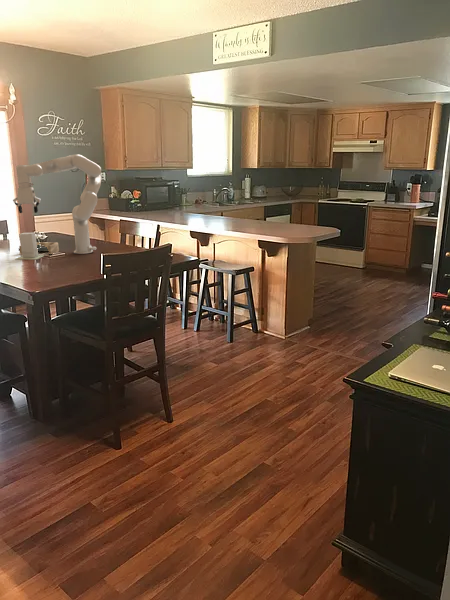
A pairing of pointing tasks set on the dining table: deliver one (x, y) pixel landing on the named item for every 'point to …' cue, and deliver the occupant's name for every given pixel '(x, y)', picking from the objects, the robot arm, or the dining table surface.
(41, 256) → the mat
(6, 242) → the dining table surface
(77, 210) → the robot arm
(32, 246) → the skincare box
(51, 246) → the open wooden frame
